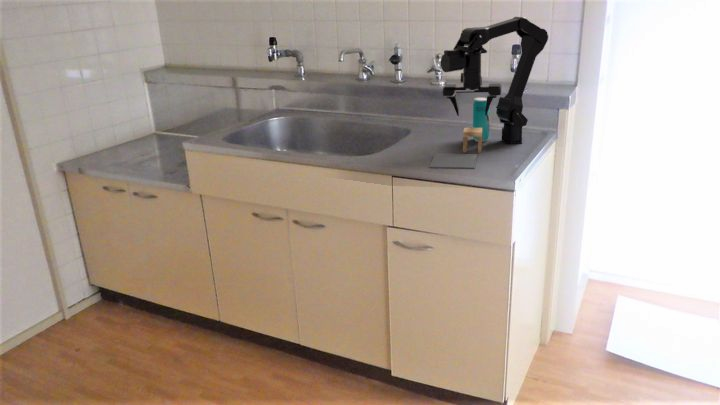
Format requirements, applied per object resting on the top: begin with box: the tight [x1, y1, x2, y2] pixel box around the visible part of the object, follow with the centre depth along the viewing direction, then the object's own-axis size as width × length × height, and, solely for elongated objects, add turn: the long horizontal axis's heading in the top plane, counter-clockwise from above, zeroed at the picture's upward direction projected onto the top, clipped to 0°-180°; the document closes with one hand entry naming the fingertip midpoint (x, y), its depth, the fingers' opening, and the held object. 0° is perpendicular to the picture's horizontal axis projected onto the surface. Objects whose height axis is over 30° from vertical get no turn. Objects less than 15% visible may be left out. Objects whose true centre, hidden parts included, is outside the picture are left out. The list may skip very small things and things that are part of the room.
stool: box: [462, 127, 483, 154], centre depth 204 cm, size 6×6×7 cm
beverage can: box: [472, 96, 491, 143], centre depth 212 cm, size 6×6×15 cm
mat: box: [429, 152, 478, 170], centre depth 194 cm, size 14×14×1 cm
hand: (472, 115), depth 201 cm, fingers open, 9 cm apart
